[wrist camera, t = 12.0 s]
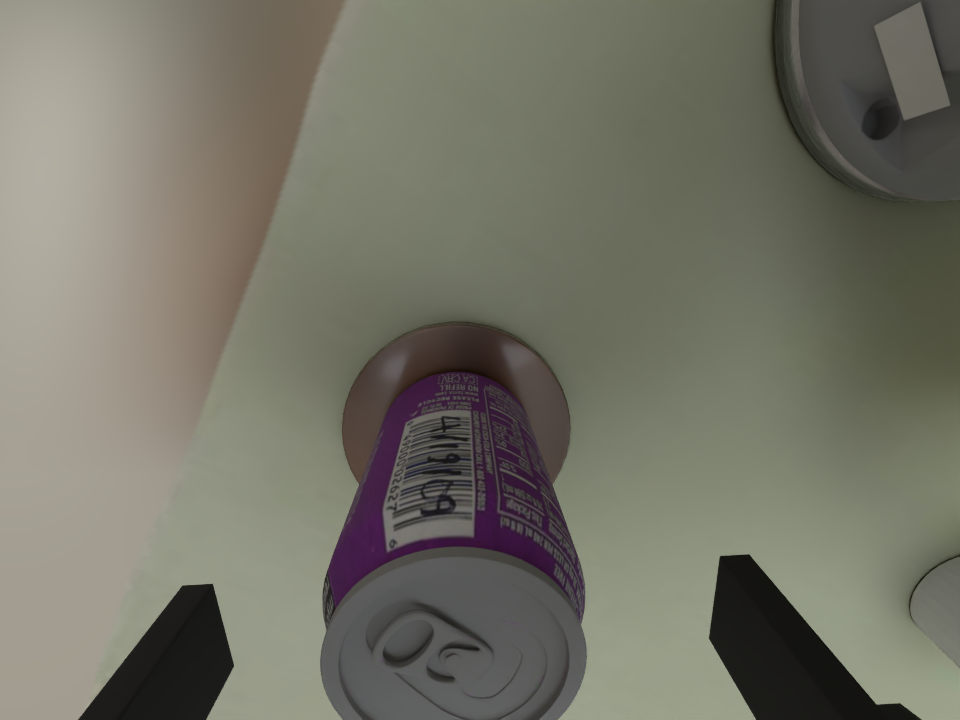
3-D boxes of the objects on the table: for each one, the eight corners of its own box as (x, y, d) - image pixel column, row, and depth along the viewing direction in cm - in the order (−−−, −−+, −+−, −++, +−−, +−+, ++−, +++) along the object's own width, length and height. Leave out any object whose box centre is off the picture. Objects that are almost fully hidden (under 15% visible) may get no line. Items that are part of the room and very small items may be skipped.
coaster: (569, 316, 21) (572, 318, 21) (566, 519, 24) (569, 526, 24) (330, 328, 21) (326, 331, 20) (358, 532, 24) (356, 540, 23)
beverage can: (355, 457, 22) (244, 710, 11) (433, 337, 21) (402, 481, 9) (477, 523, 24) (495, 810, 12) (559, 416, 22) (669, 626, 11)
